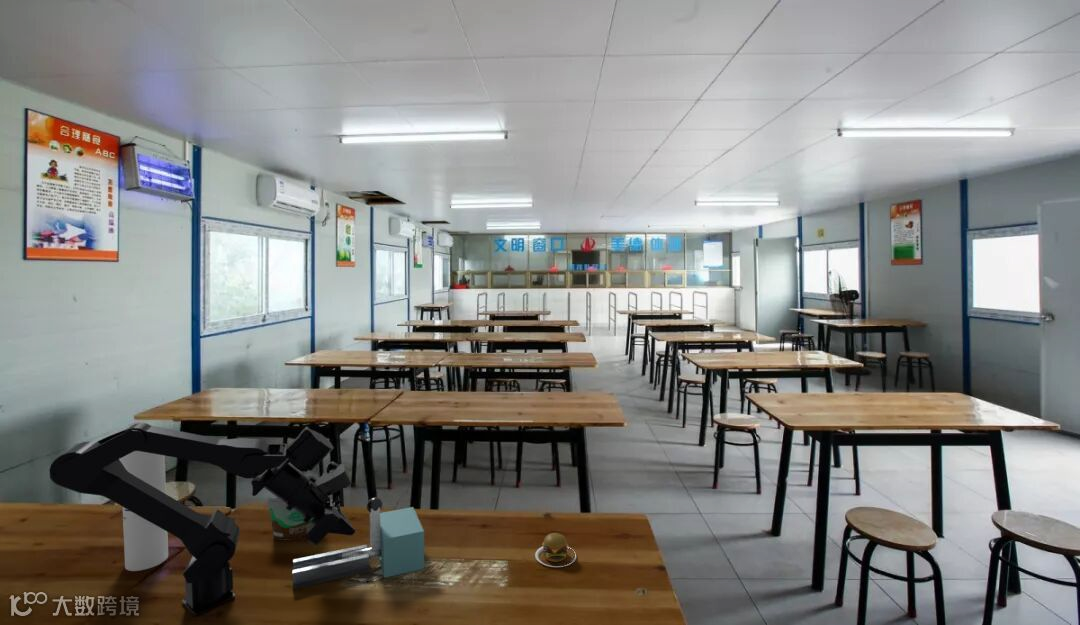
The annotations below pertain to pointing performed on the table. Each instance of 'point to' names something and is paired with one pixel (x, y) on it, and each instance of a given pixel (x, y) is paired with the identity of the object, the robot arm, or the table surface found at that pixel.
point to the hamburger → (554, 549)
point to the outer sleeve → (328, 567)
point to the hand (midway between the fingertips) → (353, 532)
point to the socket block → (401, 542)
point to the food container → (286, 520)
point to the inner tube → (371, 532)
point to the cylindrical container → (140, 535)
